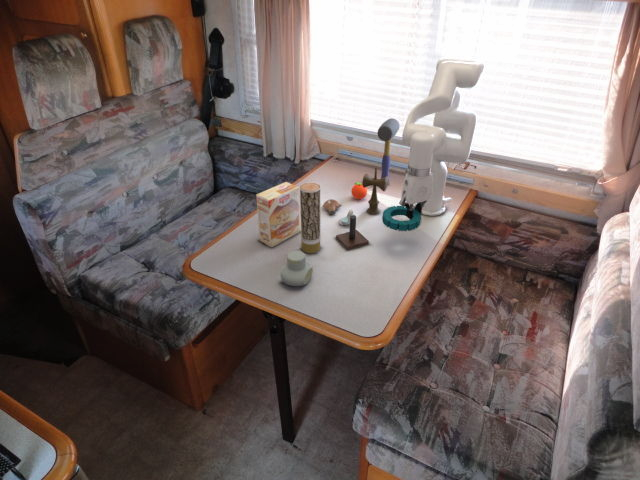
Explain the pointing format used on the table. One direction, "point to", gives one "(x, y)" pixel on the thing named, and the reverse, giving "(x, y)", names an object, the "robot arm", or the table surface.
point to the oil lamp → (331, 206)
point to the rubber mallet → (387, 142)
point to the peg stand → (352, 236)
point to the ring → (398, 224)
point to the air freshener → (296, 269)
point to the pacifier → (346, 219)
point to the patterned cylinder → (310, 217)
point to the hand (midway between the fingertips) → (413, 216)
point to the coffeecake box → (278, 213)
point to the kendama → (374, 190)
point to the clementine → (359, 191)
